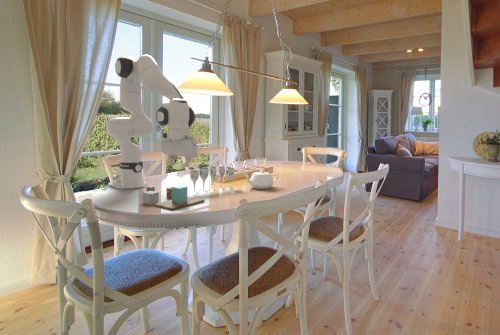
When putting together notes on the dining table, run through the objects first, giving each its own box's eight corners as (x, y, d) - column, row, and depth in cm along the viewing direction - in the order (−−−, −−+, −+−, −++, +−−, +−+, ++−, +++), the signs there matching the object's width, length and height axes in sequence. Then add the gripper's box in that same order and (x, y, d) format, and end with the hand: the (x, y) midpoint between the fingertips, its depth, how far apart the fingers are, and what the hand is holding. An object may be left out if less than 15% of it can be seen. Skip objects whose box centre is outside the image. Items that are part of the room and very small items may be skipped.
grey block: (143, 203, 162) (142, 192, 161) (151, 201, 166) (151, 190, 165) (150, 204, 159) (149, 194, 158) (158, 202, 163) (158, 192, 162)
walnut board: (154, 205, 157) (154, 203, 157) (186, 198, 173) (186, 196, 173) (172, 210, 150) (172, 208, 150) (204, 201, 166) (204, 199, 166)
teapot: (272, 184, 213) (272, 167, 211) (282, 188, 200) (283, 170, 198) (238, 186, 204) (238, 168, 203) (247, 191, 192) (247, 172, 190)
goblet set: (193, 194, 181) (192, 169, 179) (187, 192, 185) (187, 168, 183) (237, 188, 198) (237, 165, 196) (231, 187, 202) (231, 164, 200)
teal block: (171, 201, 161) (171, 187, 160) (180, 199, 165) (179, 185, 164) (179, 203, 158) (179, 188, 157) (187, 201, 162) (187, 186, 161)
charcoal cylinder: (144, 197, 173) (144, 187, 172) (151, 195, 176) (151, 186, 175) (150, 198, 171) (149, 188, 170) (156, 197, 174) (156, 187, 173)
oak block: (166, 198, 173) (166, 188, 172) (173, 196, 177) (172, 186, 176) (174, 199, 171) (174, 189, 170) (180, 197, 175) (180, 187, 174)
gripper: (200, 136, 153) (200, 167, 155) (169, 133, 165) (169, 162, 167) (190, 137, 148) (190, 169, 150) (159, 134, 160) (159, 163, 162)
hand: (179, 165), depth 159 cm, fingers open, 8 cm apart
